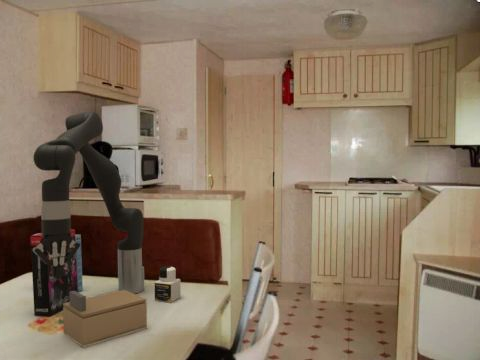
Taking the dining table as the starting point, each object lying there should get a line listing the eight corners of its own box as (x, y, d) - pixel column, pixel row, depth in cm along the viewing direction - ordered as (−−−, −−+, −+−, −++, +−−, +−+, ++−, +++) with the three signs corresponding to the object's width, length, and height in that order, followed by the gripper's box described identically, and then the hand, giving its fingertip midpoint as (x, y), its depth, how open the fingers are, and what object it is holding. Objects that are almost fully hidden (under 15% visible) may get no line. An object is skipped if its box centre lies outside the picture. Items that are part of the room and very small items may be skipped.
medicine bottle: (154, 300, 160) (153, 268, 160) (164, 295, 167) (164, 264, 166) (171, 303, 158) (170, 270, 157) (180, 297, 164) (180, 266, 164)
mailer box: (124, 316, 144) (124, 293, 143) (146, 328, 133) (146, 302, 133) (63, 333, 130) (63, 307, 130) (83, 347, 120) (82, 318, 119)
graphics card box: (49, 317, 144) (47, 235, 143) (31, 316, 145) (29, 235, 144) (78, 301, 161) (77, 228, 160) (62, 300, 162) (60, 227, 161)
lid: (124, 292, 143) (123, 277, 143) (146, 301, 133) (146, 286, 133) (63, 306, 130) (62, 290, 129) (82, 317, 119) (82, 300, 119)
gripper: (74, 213, 128) (75, 272, 129) (26, 217, 119) (28, 280, 120) (85, 215, 123) (86, 276, 123) (35, 220, 114) (37, 285, 114)
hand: (57, 278), depth 121 cm, fingers closed
